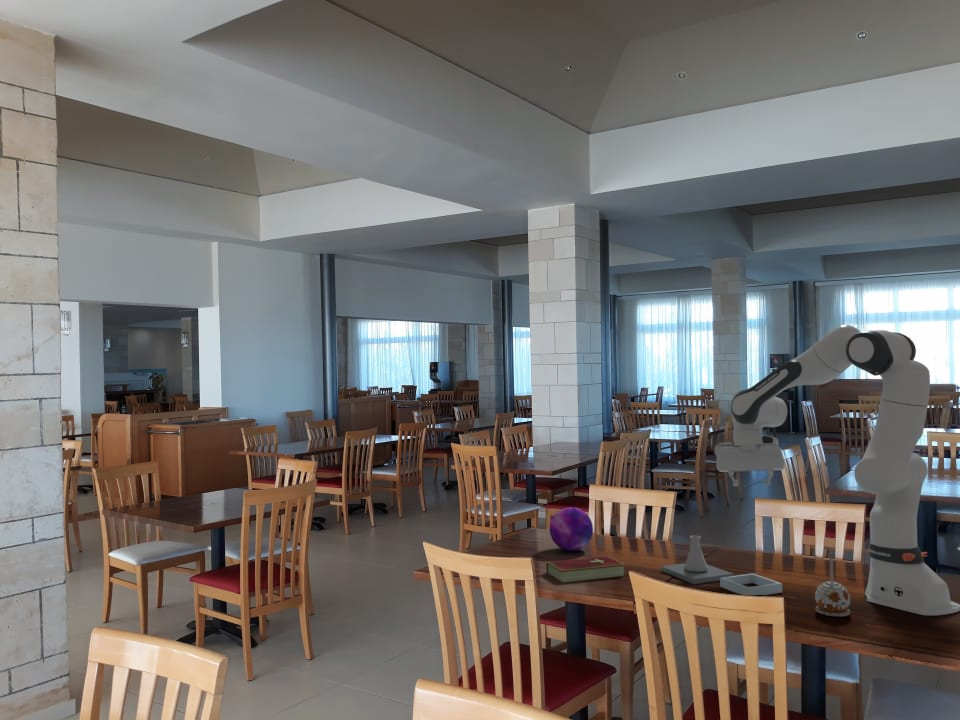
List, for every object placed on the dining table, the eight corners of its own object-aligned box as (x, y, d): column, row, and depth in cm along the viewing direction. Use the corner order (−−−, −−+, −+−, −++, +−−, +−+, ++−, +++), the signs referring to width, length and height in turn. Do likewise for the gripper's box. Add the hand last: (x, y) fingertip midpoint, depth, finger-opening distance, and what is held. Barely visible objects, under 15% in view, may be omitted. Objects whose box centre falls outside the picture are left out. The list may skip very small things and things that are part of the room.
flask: (710, 573, 223) (710, 539, 224) (686, 572, 224) (685, 539, 224) (705, 566, 231) (705, 534, 231) (681, 566, 231) (680, 534, 231)
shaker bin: (782, 592, 208) (782, 583, 208) (748, 597, 203) (748, 588, 203) (752, 581, 218) (752, 573, 218) (720, 586, 214) (720, 577, 214)
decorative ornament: (830, 619, 184) (828, 558, 185) (809, 610, 192) (807, 551, 192) (857, 617, 186) (855, 556, 186) (835, 607, 194) (833, 549, 194)
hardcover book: (546, 574, 233) (546, 560, 233) (607, 568, 239) (607, 554, 239) (562, 584, 221) (561, 569, 221) (625, 577, 228) (625, 563, 228)
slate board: (733, 578, 222) (732, 573, 222) (693, 584, 217) (693, 579, 217) (698, 566, 237) (698, 561, 237) (661, 571, 232) (661, 566, 232)
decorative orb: (595, 555, 253) (594, 511, 254) (550, 555, 254) (549, 511, 255) (591, 545, 268) (590, 503, 269) (549, 545, 269) (548, 503, 270)
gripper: (713, 441, 239) (715, 484, 235) (782, 437, 231) (786, 482, 227) (715, 444, 245) (718, 487, 241) (782, 441, 237) (786, 485, 233)
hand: (751, 485), depth 234 cm, fingers open, 8 cm apart
